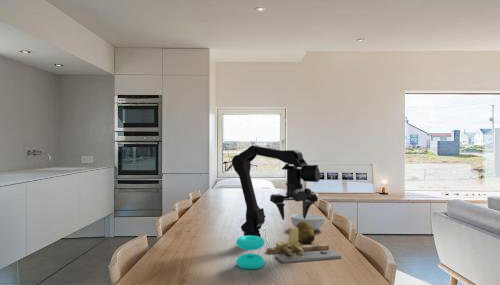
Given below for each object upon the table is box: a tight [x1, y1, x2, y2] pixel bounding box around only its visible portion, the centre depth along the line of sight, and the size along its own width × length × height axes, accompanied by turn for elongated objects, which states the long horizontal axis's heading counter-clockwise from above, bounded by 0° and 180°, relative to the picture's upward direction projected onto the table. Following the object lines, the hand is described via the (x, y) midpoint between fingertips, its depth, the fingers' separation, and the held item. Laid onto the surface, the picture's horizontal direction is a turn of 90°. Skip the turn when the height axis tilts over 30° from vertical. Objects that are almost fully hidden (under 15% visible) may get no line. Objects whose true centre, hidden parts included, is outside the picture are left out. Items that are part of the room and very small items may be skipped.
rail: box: [266, 241, 330, 255], centre depth 152 cm, size 26×12×3 cm, turn 105°
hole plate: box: [274, 249, 342, 264], centre depth 146 cm, size 24×8×1 cm, turn 105°
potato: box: [296, 221, 316, 244], centre depth 171 cm, size 8×13×8 cm, turn 172°
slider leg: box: [286, 226, 305, 254], centre depth 151 cm, size 4×12×8 cm, turn 15°
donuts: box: [235, 235, 265, 270], centre depth 136 cm, size 10×10×10 cm
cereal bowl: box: [290, 213, 325, 232], centre depth 193 cm, size 17×17×7 cm
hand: (293, 219), depth 155 cm, fingers open, 9 cm apart
